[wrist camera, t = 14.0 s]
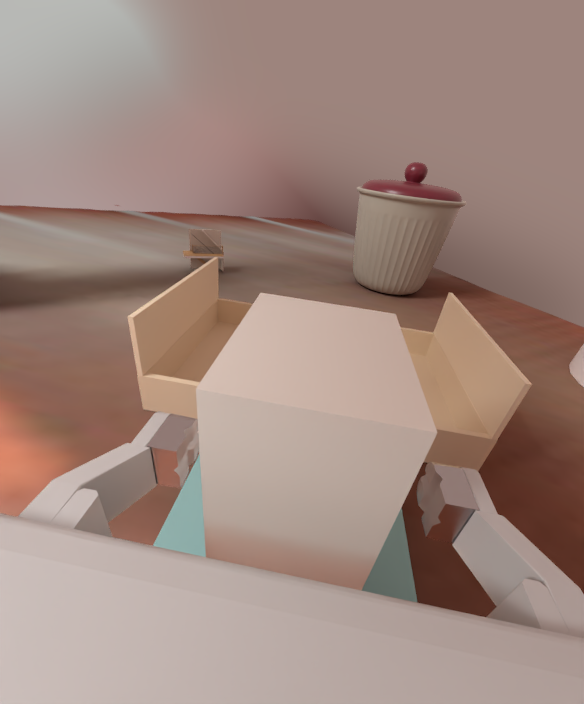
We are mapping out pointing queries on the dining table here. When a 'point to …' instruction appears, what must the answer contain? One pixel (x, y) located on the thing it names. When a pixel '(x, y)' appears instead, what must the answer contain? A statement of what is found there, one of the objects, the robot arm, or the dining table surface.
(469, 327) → the beige open box
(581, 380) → the canister
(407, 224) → the canister
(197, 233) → the architectural model
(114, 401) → the dining table surface
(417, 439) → the box
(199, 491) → the mat
